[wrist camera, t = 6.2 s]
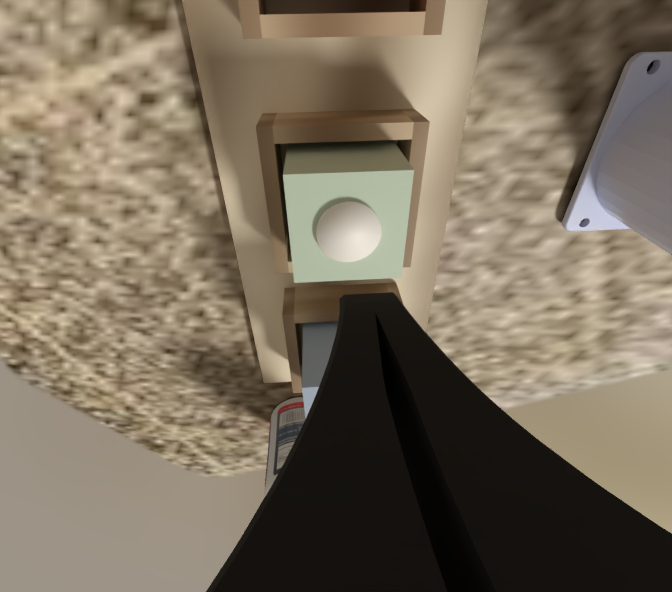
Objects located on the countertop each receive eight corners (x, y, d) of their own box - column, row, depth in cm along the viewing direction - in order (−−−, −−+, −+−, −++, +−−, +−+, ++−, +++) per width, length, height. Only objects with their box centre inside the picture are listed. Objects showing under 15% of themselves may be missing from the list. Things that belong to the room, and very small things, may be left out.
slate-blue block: (382, 317, 20) (400, 385, 16) (378, 370, 23) (392, 439, 19) (303, 321, 20) (301, 391, 16) (308, 374, 22) (308, 444, 19)
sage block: (389, 135, 16) (415, 171, 12) (383, 227, 18) (402, 280, 15) (288, 139, 15) (282, 176, 12) (297, 231, 18) (294, 285, 14)
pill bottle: (316, 438, 31) (319, 560, 24) (260, 424, 29) (246, 551, 22) (348, 405, 29) (362, 531, 22) (289, 386, 27) (282, 517, 20)
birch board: (548, -369, 9) (632, -504, 7) (415, 367, 26) (426, 402, 24) (107, -379, 9) (32, -527, 6) (264, 376, 26) (260, 412, 23)
